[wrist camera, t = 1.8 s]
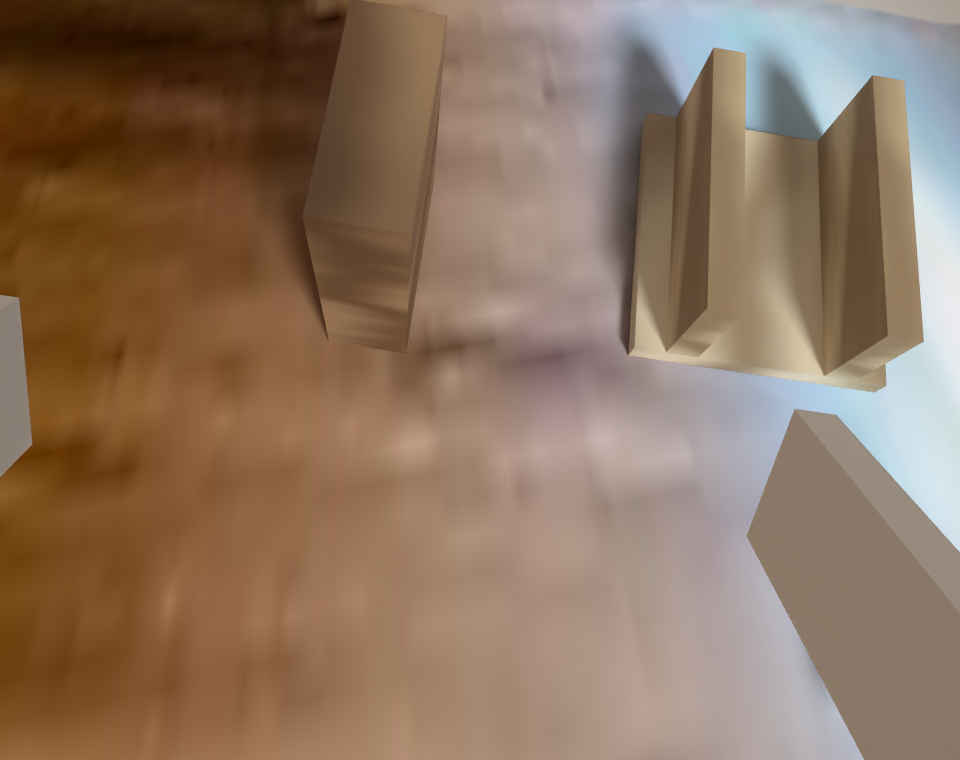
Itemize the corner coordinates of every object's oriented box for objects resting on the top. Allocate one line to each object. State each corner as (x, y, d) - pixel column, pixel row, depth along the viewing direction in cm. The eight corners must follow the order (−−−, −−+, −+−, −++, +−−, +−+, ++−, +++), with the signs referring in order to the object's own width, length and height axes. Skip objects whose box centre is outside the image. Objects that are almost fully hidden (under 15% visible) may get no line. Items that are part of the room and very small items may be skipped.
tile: (433, 184, 39) (447, 15, 29) (406, 353, 36) (410, 233, 26) (362, 172, 39) (350, -2, 28) (329, 341, 36) (302, 216, 25)
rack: (862, 161, 42) (935, 86, 36) (874, 392, 38) (959, 346, 32) (642, 125, 41) (681, 41, 36) (628, 355, 37) (670, 302, 31)
